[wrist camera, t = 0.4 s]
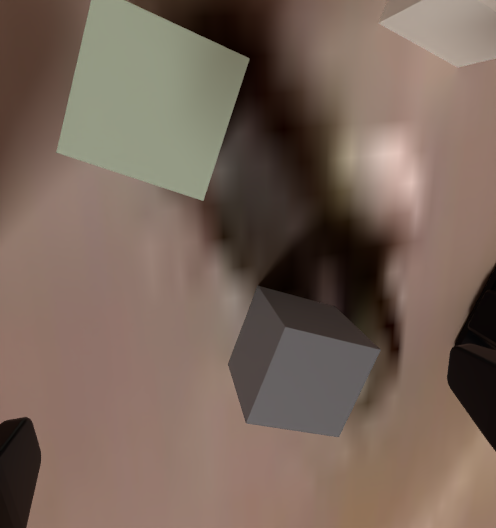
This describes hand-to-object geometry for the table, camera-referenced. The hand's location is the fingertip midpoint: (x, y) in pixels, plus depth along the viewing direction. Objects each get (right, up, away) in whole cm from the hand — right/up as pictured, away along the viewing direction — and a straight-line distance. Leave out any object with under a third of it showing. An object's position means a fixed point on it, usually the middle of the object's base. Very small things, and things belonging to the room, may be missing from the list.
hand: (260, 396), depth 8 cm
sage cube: (-4, +10, +9) cm, 14 cm away
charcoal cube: (+2, -1, +14) cm, 14 cm away
